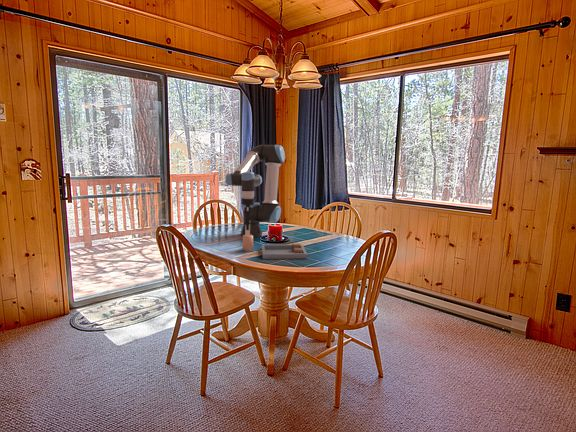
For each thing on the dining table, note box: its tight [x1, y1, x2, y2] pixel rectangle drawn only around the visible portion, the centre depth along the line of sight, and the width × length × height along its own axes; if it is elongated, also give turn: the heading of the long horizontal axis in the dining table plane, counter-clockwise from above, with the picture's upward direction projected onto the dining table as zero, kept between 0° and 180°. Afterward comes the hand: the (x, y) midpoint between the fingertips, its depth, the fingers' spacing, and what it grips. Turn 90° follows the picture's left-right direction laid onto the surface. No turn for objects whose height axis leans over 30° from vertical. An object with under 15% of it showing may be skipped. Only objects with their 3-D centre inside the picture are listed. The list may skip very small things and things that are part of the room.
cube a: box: [291, 243, 301, 252], centre depth 220 cm, size 4×4×4 cm
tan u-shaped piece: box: [242, 235, 254, 252], centre depth 221 cm, size 6×6×9 cm
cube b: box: [294, 248, 302, 253], centre depth 210 cm, size 4×4×4 cm
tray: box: [261, 243, 308, 260], centre depth 214 cm, size 21×25×3 cm
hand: (247, 232), depth 220 cm, fingers open, 13 cm apart
